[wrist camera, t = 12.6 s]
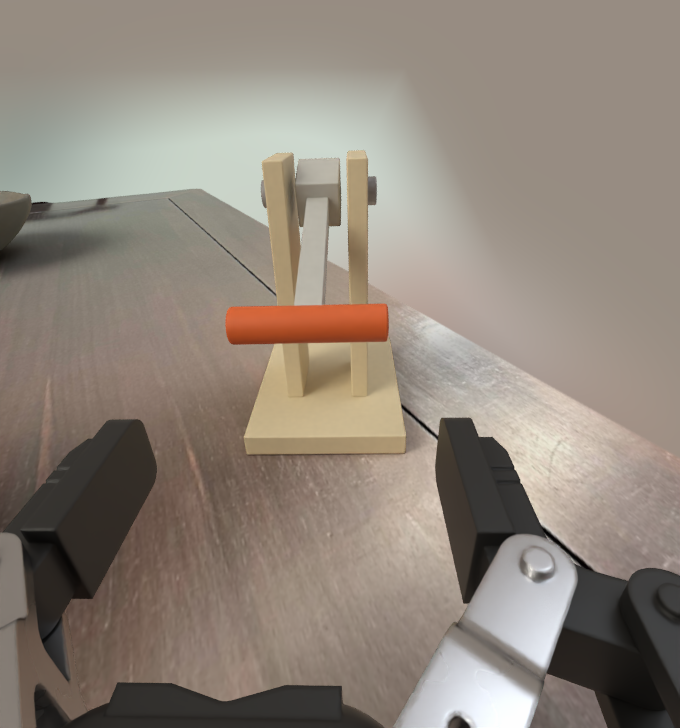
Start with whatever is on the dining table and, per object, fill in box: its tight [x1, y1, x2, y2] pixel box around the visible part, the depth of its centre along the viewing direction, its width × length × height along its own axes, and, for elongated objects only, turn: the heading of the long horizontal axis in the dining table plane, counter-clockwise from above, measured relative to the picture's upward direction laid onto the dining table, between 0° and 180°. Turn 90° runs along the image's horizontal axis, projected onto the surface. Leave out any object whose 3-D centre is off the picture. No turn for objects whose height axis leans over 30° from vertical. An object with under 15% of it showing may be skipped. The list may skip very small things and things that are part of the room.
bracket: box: [244, 150, 406, 455], centre depth 26 cm, size 12×9×15 cm
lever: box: [226, 158, 389, 345], centre depth 20 cm, size 12×6×2 cm, turn 179°
